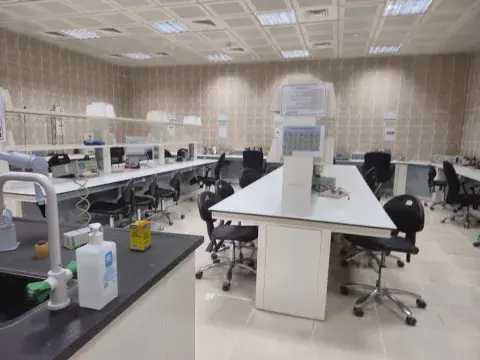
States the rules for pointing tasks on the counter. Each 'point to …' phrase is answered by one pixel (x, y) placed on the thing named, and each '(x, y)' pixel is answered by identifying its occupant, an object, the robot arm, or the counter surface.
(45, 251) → the amber bottle
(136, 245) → the supplement box
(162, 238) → the counter surface
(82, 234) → the syrup box
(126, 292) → the counter surface
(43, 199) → the robot arm
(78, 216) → the dna model
